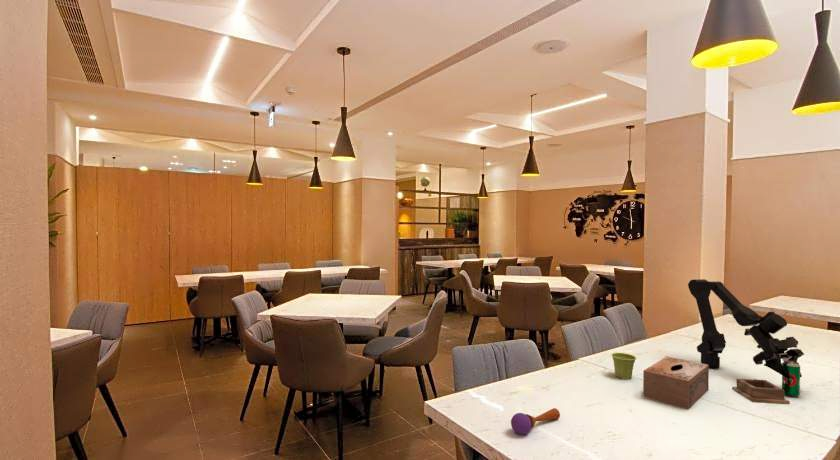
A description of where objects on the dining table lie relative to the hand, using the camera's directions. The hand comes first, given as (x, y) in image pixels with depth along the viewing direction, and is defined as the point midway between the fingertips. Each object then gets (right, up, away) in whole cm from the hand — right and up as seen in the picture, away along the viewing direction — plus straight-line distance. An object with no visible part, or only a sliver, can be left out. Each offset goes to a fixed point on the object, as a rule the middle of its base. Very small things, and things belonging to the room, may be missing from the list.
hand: (795, 377), depth 154 cm
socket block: (-13, -7, 0) cm, 15 cm away
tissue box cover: (-42, -7, +3) cm, 43 cm away
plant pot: (-54, -7, +20) cm, 58 cm away
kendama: (-103, -7, -24) cm, 106 cm away
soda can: (0, -7, +1) cm, 7 cm away
